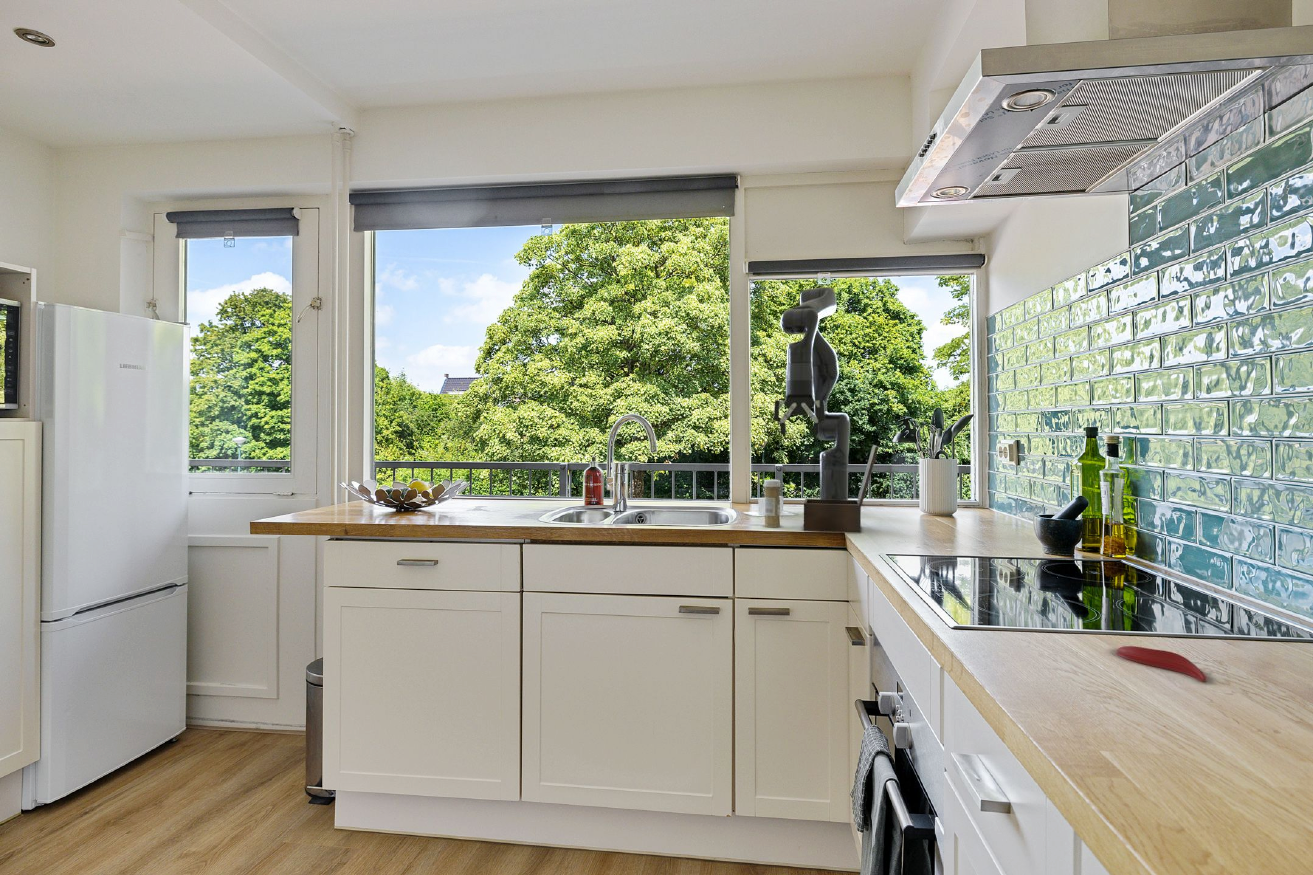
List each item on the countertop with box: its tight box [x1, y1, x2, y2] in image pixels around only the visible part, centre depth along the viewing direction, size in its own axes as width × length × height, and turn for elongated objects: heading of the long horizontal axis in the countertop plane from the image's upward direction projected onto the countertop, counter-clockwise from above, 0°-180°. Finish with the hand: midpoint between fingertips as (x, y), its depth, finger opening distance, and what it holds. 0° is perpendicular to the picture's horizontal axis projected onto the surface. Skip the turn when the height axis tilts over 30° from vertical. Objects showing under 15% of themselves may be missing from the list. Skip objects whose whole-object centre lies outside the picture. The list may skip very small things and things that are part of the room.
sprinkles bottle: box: [763, 479, 781, 528], centre depth 213 cm, size 5×5×14 cm
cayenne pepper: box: [1116, 645, 1207, 683], centre depth 91 cm, size 12×5×2 cm, turn 8°
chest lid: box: [857, 444, 879, 505], centre depth 207 cm, size 16×13×1 cm
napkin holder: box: [741, 495, 796, 517], centre depth 243 cm, size 15×11×6 cm
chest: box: [803, 498, 862, 534], centre depth 209 cm, size 15×13×8 cm
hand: (799, 436), depth 211 cm, fingers open, 8 cm apart
